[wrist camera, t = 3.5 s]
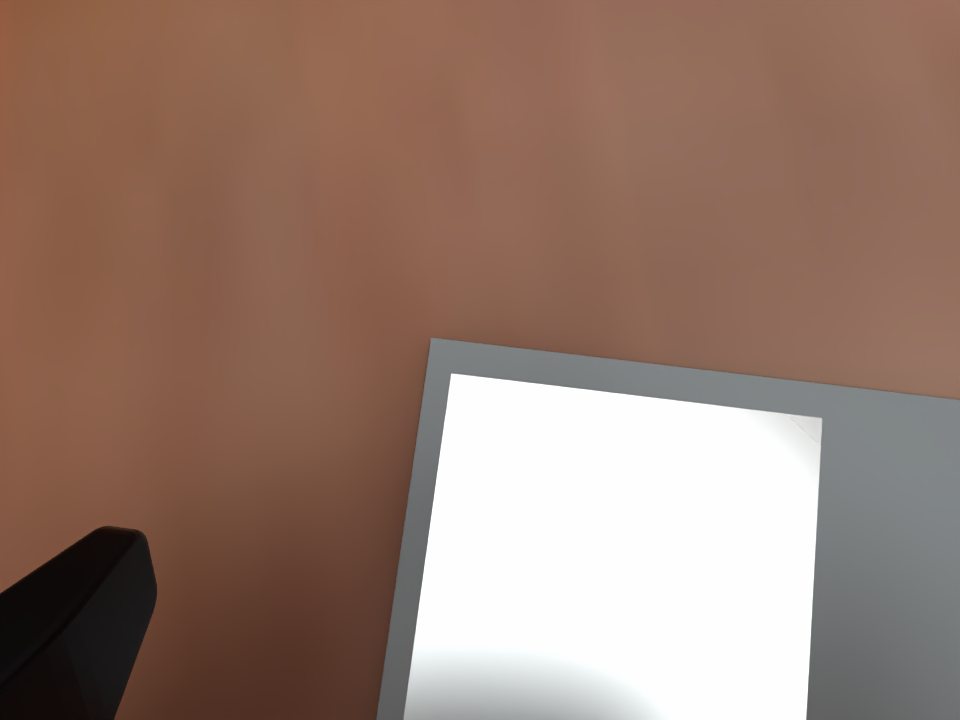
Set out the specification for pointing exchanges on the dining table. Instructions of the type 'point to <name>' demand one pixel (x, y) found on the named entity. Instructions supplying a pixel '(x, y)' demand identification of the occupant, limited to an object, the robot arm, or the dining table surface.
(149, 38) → the dining table surface
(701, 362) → the dining table surface
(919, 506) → the pull board
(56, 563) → the robot arm
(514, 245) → the dining table surface
